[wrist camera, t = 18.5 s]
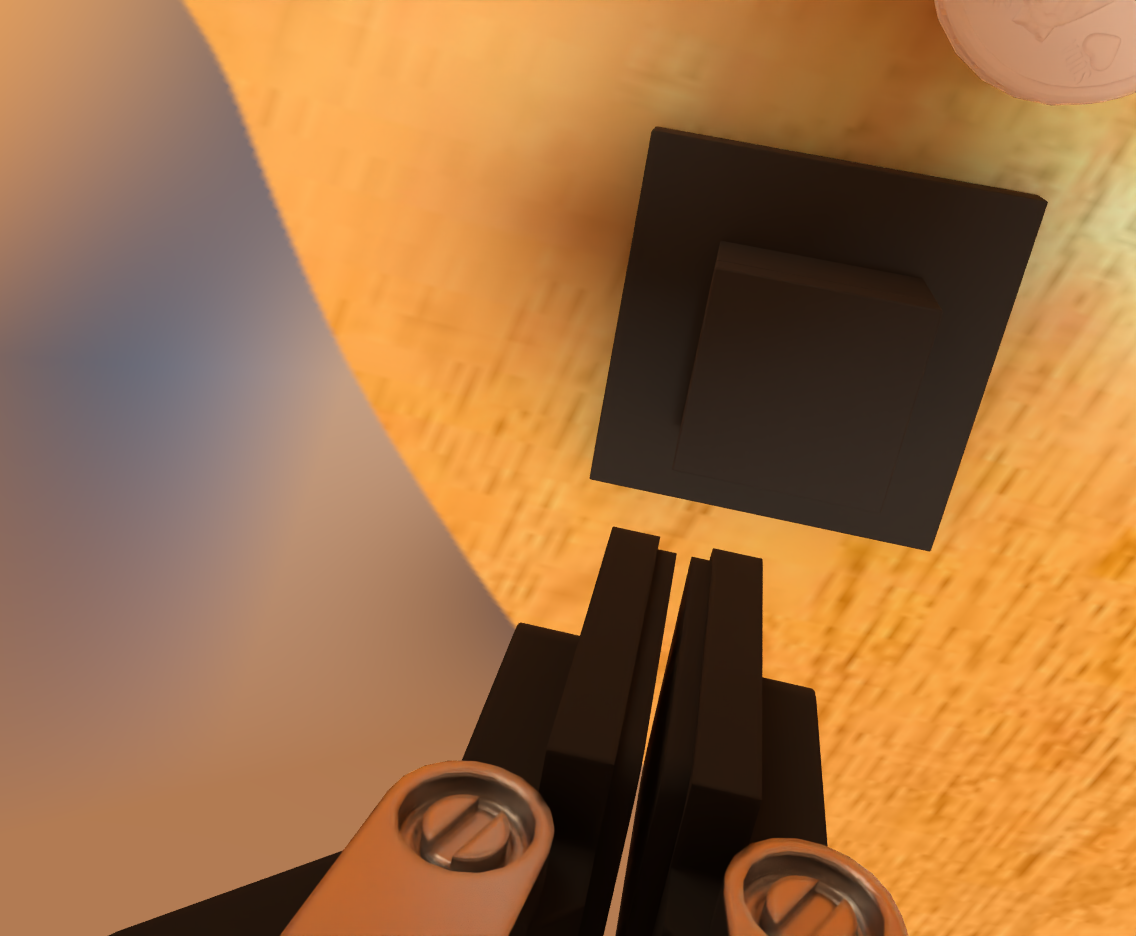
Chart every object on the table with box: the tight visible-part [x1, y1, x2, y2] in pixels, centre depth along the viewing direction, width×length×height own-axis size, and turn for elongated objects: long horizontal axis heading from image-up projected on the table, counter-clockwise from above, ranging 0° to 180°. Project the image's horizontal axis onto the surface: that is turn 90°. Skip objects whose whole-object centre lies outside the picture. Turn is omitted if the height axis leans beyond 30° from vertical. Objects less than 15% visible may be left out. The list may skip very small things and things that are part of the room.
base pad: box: [590, 127, 1048, 551], centre depth 34 cm, size 12×12×3 cm
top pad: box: [672, 241, 943, 514], centre depth 33 cm, size 6×6×4 cm
